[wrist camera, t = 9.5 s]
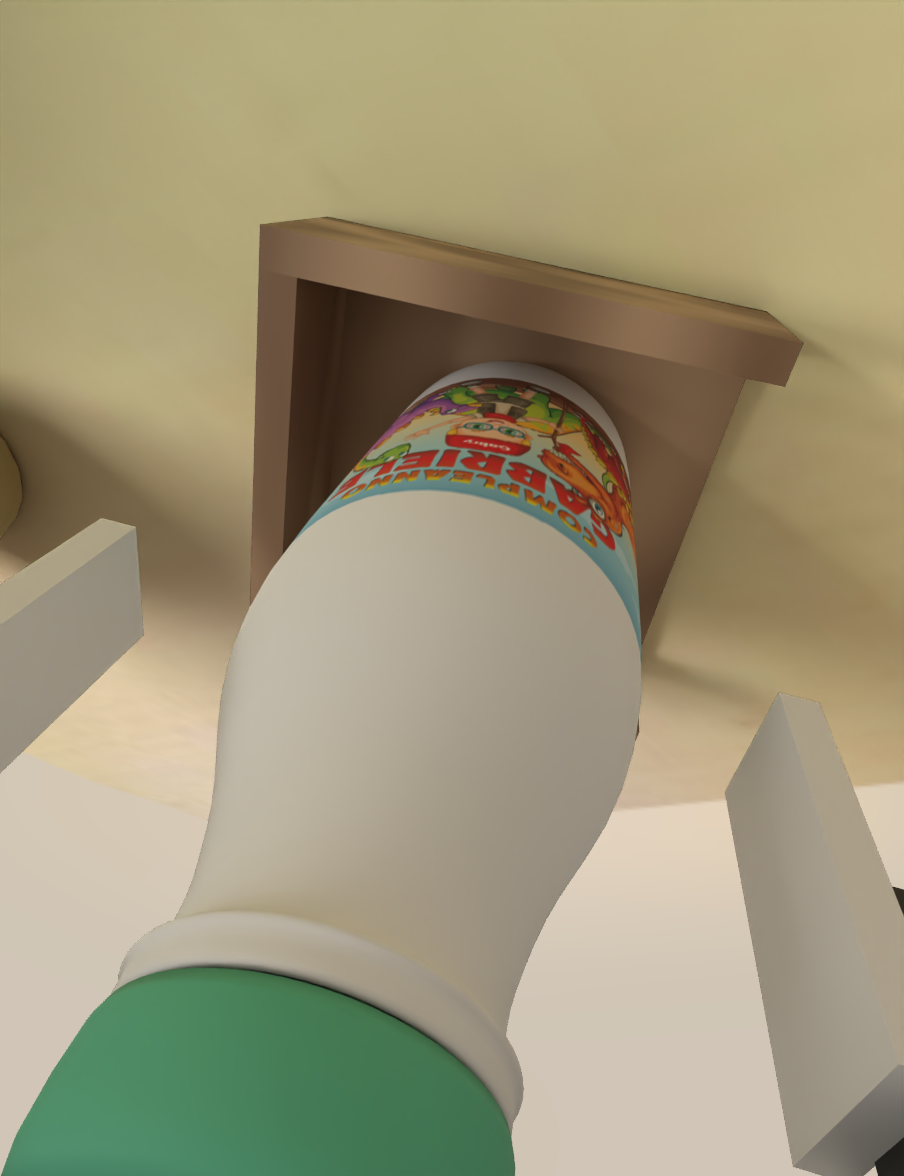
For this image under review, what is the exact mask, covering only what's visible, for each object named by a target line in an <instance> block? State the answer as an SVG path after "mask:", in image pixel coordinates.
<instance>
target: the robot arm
mask: <svg viewBox="0 0 904 1176" xmlns="http://www.w3.org/2000/svg"><path fill="white" fill-rule="evenodd" d="M143 635H144V631H143V617H142V603H141V589H140V575H139V561H138V547H137V533H136V527H135V526H131V525H127V524H123V523H119V522H115V521H112V520H108V519H104V518H100V519H99V520H97V521H96V522H94V523H93V524H91V525H90V526H88V527H87V528H85V529H84V530H82V531H81V532H79V533H78V534H76V535H75V536H73V537H72V538H70V539H68V540H67V541H65V542H64V543H62V544H61V545H59V546H58V547H56V548H55V549H53V550H52V551H50V552H49V553H47V554H46V555H44V556H43V557H41V558H40V559H38V560H36V561H35V562H33V563H32V564H30V565H29V566H27V567H26V568H24V569H23V570H21V571H20V572H18V573H17V574H15V575H14V576H12V577H11V578H9V579H8V580H6V581H4V582H3V583H1V584H0V773H1V772H2V771H3V770H4V769H5V768H6V767H7V766H8V765H9V764H10V763H11V762H12V761H13V760H14V759H15V758H16V757H17V756H19V755H20V754H21V753H22V752H23V751H24V750H25V749H26V748H27V747H28V746H29V745H30V744H31V743H32V742H33V741H34V740H35V739H36V738H37V737H38V736H39V735H40V734H41V733H42V732H43V731H44V730H46V729H47V728H48V727H49V726H50V725H51V724H52V723H53V722H54V721H55V720H56V719H57V718H58V717H59V716H60V715H61V714H62V713H63V712H64V711H65V710H66V709H67V708H68V707H69V706H70V705H71V704H72V703H74V702H75V701H76V700H77V699H78V698H79V697H80V696H81V695H82V694H83V693H84V692H85V691H86V690H87V689H88V688H89V687H90V686H91V685H92V684H93V683H94V682H95V681H96V680H97V679H98V678H99V677H101V676H102V675H103V674H104V673H105V672H106V671H107V670H108V669H109V668H110V667H111V666H112V665H113V664H114V663H115V662H116V661H117V660H118V659H119V658H120V657H121V656H122V655H123V654H124V653H125V652H126V651H127V650H129V649H130V648H131V647H132V646H133V645H134V644H135V643H136V642H137V641H138V640H139V639H140V638H141V637H142V636H143ZM725 795H726V801H727V806H728V811H729V817H730V823H731V828H732V834H733V839H734V845H735V850H736V856H737V861H738V867H739V872H740V878H741V883H742V889H743V894H744V899H745V905H746V911H747V916H748V922H749V927H750V933H751V938H752V944H753V949H754V954H755V960H756V966H757V971H758V977H759V982H760V988H761V993H762V999H763V1004H764V1010H765V1015H766V1020H767V1026H768V1032H769V1037H770V1043H771V1048H772V1053H773V1059H774V1065H775V1070H776V1076H777V1081H778V1087H779V1092H780V1098H781V1103H782V1108H783V1114H784V1120H785V1125H786V1131H787V1136H788V1142H789V1147H790V1153H791V1158H792V1164H793V1167H796V1168H799V1169H802V1170H806V1171H809V1172H812V1173H815V1174H819V1175H822V1176H864V1175H865V1174H866V1173H867V1172H868V1171H870V1170H871V1169H872V1168H873V1167H874V1166H876V1170H877V1173H878V1176H904V890H903V889H900V888H896V887H892V885H891V883H890V880H889V878H888V875H887V873H886V870H885V868H884V865H883V863H882V860H881V857H880V855H879V852H878V850H877V847H876V845H875V842H874V840H873V837H872V835H871V832H870V830H869V827H868V824H867V822H866V819H865V817H864V815H863V812H862V809H861V807H860V804H859V802H858V799H857V797H856V794H855V792H854V789H853V786H852V784H851V781H850V779H849V776H848V774H847V771H846V769H845V766H844V764H843V761H842V759H841V756H840V754H839V751H838V748H837V746H836V743H835V741H834V738H833V736H832V733H831V731H830V728H829V726H828V723H827V721H826V718H825V715H824V713H823V710H822V708H821V705H820V703H818V702H814V701H810V700H807V699H803V698H799V697H795V696H791V695H787V694H783V693H778V695H777V697H776V699H775V700H774V702H773V704H772V706H771V708H770V710H769V711H768V713H767V715H766V717H765V719H764V721H763V723H762V724H761V726H760V728H759V730H758V732H757V734H756V735H755V737H754V739H753V741H752V743H751V745H750V746H749V748H748V750H747V752H746V754H745V756H744V758H743V759H742V761H741V763H740V765H739V767H738V769H737V770H736V772H735V774H734V776H733V778H732V780H731V781H730V783H729V785H728V787H727V789H726V791H725Z"/></svg>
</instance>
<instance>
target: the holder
mask: <svg viewBox="0 0 904 1176" xmlns="http://www.w3.org/2000/svg"><path fill="white" fill-rule="evenodd" d="M802 345H803V342H802V341H800V340H799V339H798V338H797V337H796V336H795V335H793V334H792V333H791V332H790V331H789V330H788V329H786V328H785V327H784V326H783V325H782V324H781V323H779V322H778V321H777V320H776V319H775V318H774V317H772V316H771V315H770V314H769V313H768V312H766V311H761V310H757V309H752V308H748V307H743V306H738V305H734V304H729V303H724V302H720V301H715V300H710V299H706V298H701V297H697V296H692V295H687V294H683V293H678V292H673V291H669V290H664V289H659V288H655V287H650V286H645V285H641V284H636V283H632V282H627V281H622V280H618V279H613V278H608V277H604V276H599V275H594V274H590V273H585V272H580V271H576V270H571V269H567V268H562V267H557V266H553V265H548V264H543V263H539V262H534V261H529V260H525V259H520V258H516V257H511V256H506V255H502V254H497V253H492V252H488V251H483V250H478V249H474V248H469V247H464V246H460V245H455V244H451V243H446V242H441V241H437V240H432V239H427V238H423V237H418V236H413V235H409V234H404V233H399V232H395V231H390V230H386V229H381V228H376V227H372V226H367V225H362V224H358V223H353V222H348V221H344V220H339V219H335V218H330V217H321V218H313V219H304V220H295V221H286V222H278V223H269V224H260V248H259V286H258V323H257V361H256V399H255V437H254V475H253V513H252V550H251V588H250V606H251V604H252V603H253V601H254V599H255V597H256V595H257V594H258V592H259V590H260V588H261V586H262V585H263V583H264V581H265V580H266V578H267V576H268V575H269V573H270V571H271V570H272V568H273V567H274V566H275V564H276V563H277V562H278V561H279V559H280V558H281V557H282V555H283V554H284V553H285V551H286V550H287V549H288V547H289V546H290V545H291V543H292V542H293V541H294V539H295V538H296V537H297V535H298V534H299V533H300V531H301V530H302V529H303V528H304V526H305V525H306V524H307V522H308V521H309V520H310V519H311V517H312V516H313V515H314V514H315V513H316V511H317V510H318V509H319V508H320V507H321V506H322V504H323V503H324V502H325V501H326V500H327V499H328V497H329V496H330V495H331V494H332V493H333V492H334V490H335V489H336V488H337V487H338V486H339V485H340V483H341V482H342V481H343V480H344V479H345V478H346V476H347V475H348V474H349V473H350V472H351V471H352V469H353V468H354V467H355V466H356V465H357V464H358V462H359V461H360V460H361V459H362V458H363V457H364V456H365V455H366V453H367V452H368V451H369V450H370V449H371V448H372V447H373V446H374V444H375V443H376V442H377V441H378V440H379V439H380V438H381V437H382V435H383V434H384V433H385V432H386V431H387V430H388V429H389V428H390V426H391V425H392V424H393V423H394V422H395V421H396V420H397V419H398V418H399V416H400V415H401V414H402V413H403V412H404V411H405V410H406V409H407V408H408V407H409V406H410V405H411V404H412V403H413V402H414V401H415V400H416V399H417V398H418V397H419V396H420V395H421V394H422V393H423V392H424V391H425V390H427V389H428V388H429V387H430V386H431V385H433V384H434V383H436V382H437V381H439V380H440V379H442V378H443V377H445V376H447V375H449V374H451V373H453V372H455V371H457V370H460V369H462V368H465V367H468V366H472V365H476V364H480V363H486V362H494V361H516V362H523V363H530V364H534V365H538V366H542V367H544V368H547V369H550V370H553V371H555V372H557V373H559V374H561V375H563V376H565V377H567V378H569V379H570V380H572V381H574V382H575V383H577V384H578V385H579V386H581V387H582V388H583V389H585V390H586V391H587V392H588V393H589V394H590V395H591V396H592V397H593V398H594V399H595V400H596V401H597V402H598V403H599V404H600V405H601V406H602V408H603V409H604V410H605V412H606V413H607V414H608V416H609V417H610V419H611V421H612V422H613V424H614V426H615V428H616V430H617V432H618V434H619V437H620V439H621V442H622V445H623V448H624V451H625V457H626V462H627V467H628V472H629V481H630V492H631V503H632V515H633V527H634V539H635V552H636V564H637V579H638V595H639V610H640V626H641V645H642V643H643V640H644V638H645V635H646V633H647V630H648V628H649V625H650V622H651V620H652V617H653V615H654V612H655V610H656V607H657V605H658V602H659V599H660V597H661V594H662V592H663V589H664V587H665V584H666V581H667V579H668V576H669V574H670V571H671V569H672V566H673V564H674V561H675V558H676V556H677V553H678V551H679V548H680V546H681V543H682V541H683V538H684V535H685V533H686V530H687V528H688V525H689V523H690V520H691V517H692V515H693V512H694V510H695V507H696V505H697V502H698V500H699V497H700V494H701V492H702V489H703V487H704V484H705V482H706V479H707V477H708V474H709V471H710V469H711V466H712V464H713V461H714V459H715V456H716V453H717V451H718V448H719V446H720V443H721V441H722V438H723V436H724V433H725V430H726V428H727V425H728V423H729V420H730V418H731V415H732V413H733V410H734V407H735V405H736V402H737V400H738V397H739V395H740V392H741V390H742V387H743V384H744V382H745V379H746V378H748V379H752V380H757V381H761V382H766V383H770V384H775V385H779V386H784V387H785V386H786V383H787V381H788V378H789V376H790V374H791V371H792V369H793V367H794V364H795V362H796V359H797V357H798V355H799V352H800V350H801V348H802ZM638 733H639V718H638V725H637V732H636V738H637V736H638ZM635 741H636V739H635Z"/></svg>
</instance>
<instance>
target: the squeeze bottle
mask: <svg viewBox="0 0 904 1176" xmlns="http://www.w3.org/2000/svg"><path fill="white" fill-rule="evenodd" d="M22 498H23V493H22V486H21V478H20V471H19V468H18V466H17V464H16V462H15V460H14V458H13V456H12V454H11V452H10V450H9V448H8V446H7V444H6V442H5V441H4V440H3V439H2V437H1V436H0V539H1V538H2V536H3V535H4V534H5V532H6V531H7V530H8V528H9V527H10V525H11V524H12V523H13V521H14V520H15V519H16V517H17V514H18V511H19V508H20V504H21V501H22Z"/></svg>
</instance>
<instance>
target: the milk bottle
mask: <svg viewBox="0 0 904 1176" xmlns="http://www.w3.org/2000/svg"><path fill="white" fill-rule="evenodd" d="M640 704H641V626H640V610H639V595H638V579H637V564H636V552H635V539H634V527H633V515H632V503H631V492H630V481H629V472H628V467H627V462H626V457H625V451H624V448H623V445H622V442H621V439H620V437H619V434H618V432H617V430H616V428H615V426H614V424H613V422H612V421H611V419H610V417H609V416H608V414H607V413H606V412H605V410H604V409H603V408H602V406H601V405H600V404H599V403H598V402H597V401H596V400H595V399H594V398H593V397H592V396H591V395H590V394H589V393H588V392H587V391H586V390H585V389H583V388H582V387H581V386H579V385H578V384H577V383H575V382H574V381H572V380H570V379H569V378H567V377H565V376H563V375H561V374H559V373H557V372H555V371H553V370H550V369H547V368H544V367H542V366H538V365H534V364H530V363H523V362H516V361H494V362H486V363H480V364H476V365H472V366H468V367H465V368H462V369H460V370H457V371H455V372H453V373H451V374H449V375H447V376H445V377H443V378H442V379H440V380H439V381H437V382H436V383H434V384H433V385H431V386H430V387H429V388H428V389H427V390H425V391H424V392H423V393H422V394H421V395H420V396H419V397H418V398H417V399H416V400H415V401H414V402H413V403H412V404H411V405H410V406H409V407H408V408H407V409H406V410H405V411H404V412H403V413H402V414H401V415H400V416H399V418H398V419H397V420H396V421H395V422H394V423H393V424H392V425H391V426H390V428H389V429H388V430H387V431H386V432H385V433H384V434H383V435H382V437H381V438H380V439H379V440H378V441H377V442H376V443H375V444H374V446H373V447H372V448H371V449H370V450H369V451H368V452H367V453H366V455H365V456H364V457H363V458H362V459H361V460H360V461H359V462H358V464H357V465H356V466H355V467H354V468H353V469H352V471H351V472H350V473H349V474H348V475H347V476H346V478H345V479H344V480H343V481H342V482H341V483H340V485H339V486H338V487H337V488H336V489H335V490H334V492H333V493H332V494H331V495H330V496H329V497H328V499H327V500H326V501H325V502H324V503H323V504H322V506H321V507H320V508H319V509H318V510H317V511H316V513H315V514H314V515H313V516H312V517H311V519H310V520H309V521H308V522H307V524H306V525H305V526H304V528H303V529H302V530H301V531H300V533H299V534H298V535H297V537H296V538H295V539H294V541H293V542H292V543H291V545H290V546H289V547H288V549H287V550H286V551H285V553H284V554H283V555H282V557H281V558H280V559H279V561H278V562H277V563H276V564H275V566H274V567H273V568H272V570H271V571H270V573H269V575H268V576H267V578H266V580H265V581H264V583H263V585H262V586H261V588H260V590H259V592H258V594H257V595H256V597H255V599H254V601H253V603H252V604H251V606H250V608H249V610H248V612H247V614H246V616H245V619H244V621H243V623H242V625H241V628H240V631H239V633H238V636H237V639H236V641H235V644H234V646H233V649H232V653H231V656H230V659H229V663H228V667H227V671H226V675H225V680H224V684H223V689H222V695H221V701H220V711H219V720H218V732H217V751H216V766H215V781H214V789H213V797H212V805H211V809H210V814H209V819H208V824H207V829H206V833H205V837H204V841H203V844H202V848H201V852H200V856H199V859H198V863H197V866H196V869H195V873H194V876H193V879H192V882H191V884H190V887H189V890H188V892H187V895H186V898H185V899H184V902H183V903H182V905H181V908H180V910H179V912H178V913H177V915H176V917H175V918H174V920H172V921H169V922H166V923H164V924H163V925H160V926H158V927H156V928H154V929H153V930H151V931H150V932H148V933H146V934H145V935H144V936H143V937H141V938H140V939H139V940H138V941H137V942H136V943H135V944H134V945H133V946H132V947H131V949H130V950H129V951H128V953H127V954H126V956H125V958H124V960H123V962H122V964H121V967H120V971H119V975H118V982H117V984H116V986H115V988H114V989H113V991H112V993H111V995H110V996H109V997H108V998H107V999H106V1000H105V1001H104V1002H103V1003H102V1004H101V1005H100V1006H99V1007H98V1008H97V1009H96V1010H95V1011H93V1013H92V1014H91V1015H90V1017H89V1018H88V1019H87V1020H86V1022H85V1023H84V1025H83V1026H82V1028H81V1029H80V1031H79V1032H78V1034H77V1035H76V1037H75V1038H74V1040H73V1042H72V1043H71V1044H70V1046H69V1047H68V1049H67V1050H66V1052H65V1053H64V1055H63V1056H62V1058H61V1059H60V1061H59V1062H58V1064H57V1065H56V1067H55V1068H54V1070H53V1071H52V1073H51V1075H50V1077H49V1078H48V1080H47V1082H46V1084H45V1085H44V1087H43V1089H42V1091H41V1092H40V1094H39V1096H38V1098H37V1099H36V1101H35V1103H34V1104H33V1106H32V1108H31V1110H30V1112H29V1113H28V1115H27V1117H26V1119H25V1120H24V1122H23V1124H22V1125H21V1127H20V1129H19V1131H18V1133H17V1135H16V1137H15V1139H14V1142H13V1144H12V1147H11V1150H10V1153H9V1155H8V1158H7V1161H6V1164H5V1166H4V1169H3V1172H2V1175H1V1176H515V1161H514V1153H513V1147H512V1140H511V1135H512V1126H513V1122H514V1120H515V1118H516V1116H517V1115H518V1112H519V1110H520V1107H521V1104H522V1100H523V1090H524V1088H523V1077H522V1072H521V1068H520V1065H519V1061H518V1059H517V1056H516V1054H515V1052H514V1049H513V1047H512V1046H511V1044H510V1042H509V1041H508V1039H507V1037H506V1031H507V1025H508V1020H509V1014H510V1009H511V1006H512V1003H513V999H514V996H515V992H516V990H517V987H518V984H519V982H520V979H521V976H522V973H523V971H524V968H525V966H526V963H527V961H528V958H529V956H530V953H531V951H532V949H533V946H534V944H535V942H536V940H537V938H538V936H539V934H540V932H541V930H542V927H543V925H544V923H545V921H546V919H547V917H548V916H549V914H550V912H551V911H552V909H553V907H554V905H555V904H556V902H557V900H558V898H559V897H560V896H561V894H562V893H563V891H564V890H565V888H566V887H567V885H568V884H569V882H570V881H571V879H572V878H573V876H574V875H575V873H576V872H577V870H578V869H579V867H580V866H581V865H582V863H583V862H584V860H585V859H586V857H587V855H588V854H589V852H590V851H591V849H592V847H593V846H594V844H595V842H596V841H597V839H598V837H599V836H600V834H601V833H602V831H603V829H604V828H605V826H606V824H607V822H608V819H609V817H610V815H611V813H612V811H613V808H614V806H615V804H616V802H617V799H618V797H619V795H620V792H621V790H622V787H623V784H624V781H625V778H626V774H627V771H628V767H629V764H630V761H631V757H632V754H633V750H634V745H635V739H636V732H637V725H638V718H639V711H640Z"/></svg>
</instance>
